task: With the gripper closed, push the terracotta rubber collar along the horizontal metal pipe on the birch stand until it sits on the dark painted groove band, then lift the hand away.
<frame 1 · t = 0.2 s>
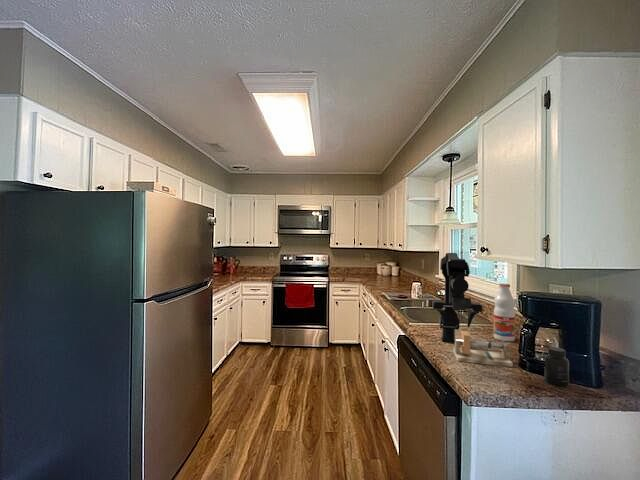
hand: (456, 326, 129), 14 cm above the counter, tool pointing down, fingers open, 9 cm apart
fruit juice: (504, 339, 159), on the counter
collar: (465, 342, 132), point 6 cm above the counter, slide at -6.0 cm
pipe: (481, 344, 131), point 5 cm above the counter
stand: (481, 358, 131), on the counter
supplement bottle: (556, 384, 108), on the counter
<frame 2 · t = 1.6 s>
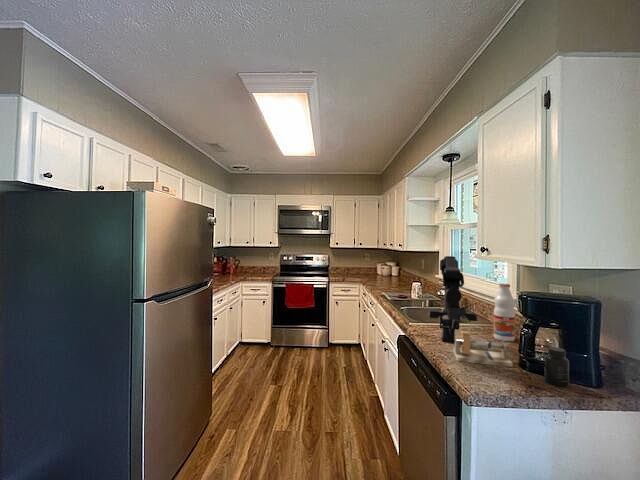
hand: (451, 334, 134), 9 cm above the counter, tool pointing down, fingers closed
nothing on the counter moved.
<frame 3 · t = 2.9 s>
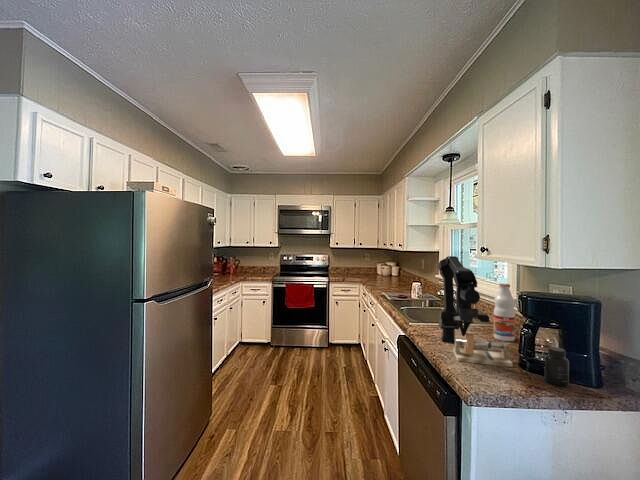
hand: (463, 336, 132), 9 cm above the counter, tool pointing down, fingers closed
collar: (468, 342, 132), point 6 cm above the counter, slide at -4.7 cm, touching gripper
everything else where it was.
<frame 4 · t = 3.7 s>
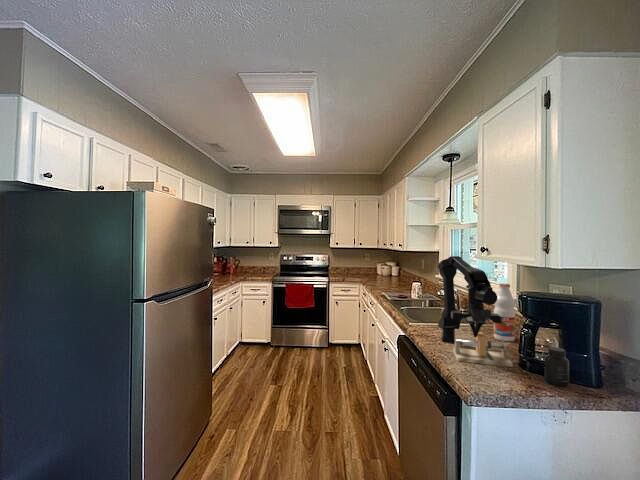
hand: (475, 337, 131), 9 cm above the counter, tool pointing down, fingers closed
collar: (480, 343, 131), point 6 cm above the counter, slide at -0.1 cm, touching gripper
everything else where it was.
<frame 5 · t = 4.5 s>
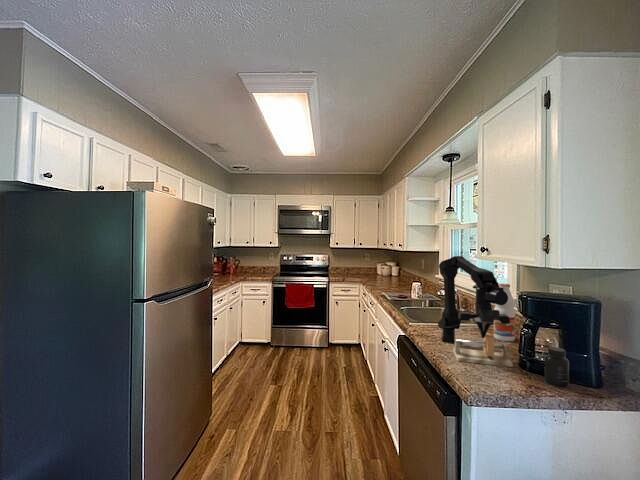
hand: (483, 337, 130), 9 cm above the counter, tool pointing down, fingers closed
collar: (488, 344, 130), point 6 cm above the counter, slide at 2.9 cm, touching gripper
everything else where it was.
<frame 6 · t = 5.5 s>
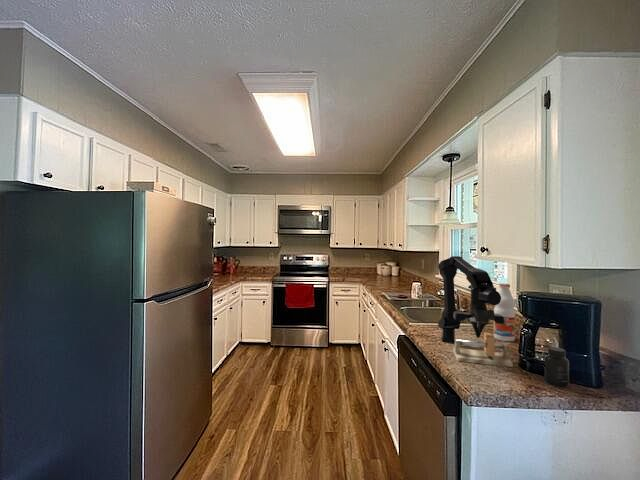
hand: (477, 337, 131), 9 cm above the counter, tool pointing down, fingers closed
collar: (489, 344, 130), point 6 cm above the counter, slide at 3.1 cm
everything else where it was.
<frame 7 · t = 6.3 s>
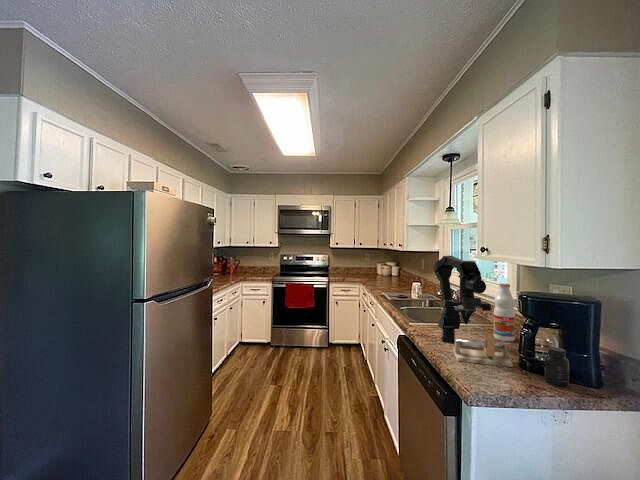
hand: (465, 324, 138), 13 cm above the counter, tool pointing down, fingers closed
nothing on the counter moved.
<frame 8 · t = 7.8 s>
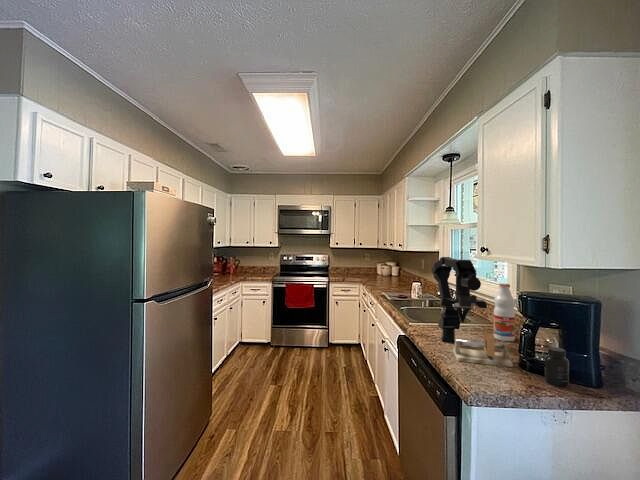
hand: (462, 321, 140), 13 cm above the counter, tool pointing down, fingers closed
at the end: collar slide at 3.1 cm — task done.
